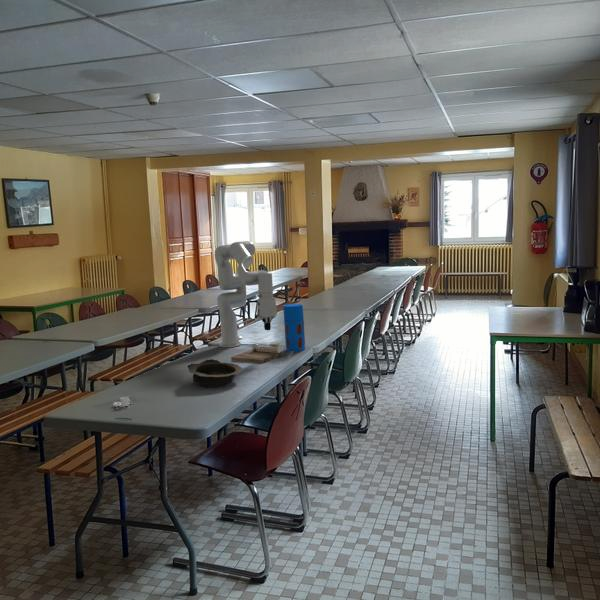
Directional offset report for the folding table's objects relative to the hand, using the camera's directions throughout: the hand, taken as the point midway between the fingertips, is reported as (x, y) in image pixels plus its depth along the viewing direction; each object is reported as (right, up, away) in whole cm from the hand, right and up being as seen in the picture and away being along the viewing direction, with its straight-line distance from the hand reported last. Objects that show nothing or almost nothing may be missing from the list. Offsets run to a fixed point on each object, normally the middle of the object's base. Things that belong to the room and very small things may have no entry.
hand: (267, 329), depth 311 cm
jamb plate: (-5, -15, +3) cm, 16 cm away
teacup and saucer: (-54, -28, -69) cm, 92 cm away
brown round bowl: (-21, -22, -43) cm, 53 cm away
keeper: (+3, -12, +8) cm, 15 cm away
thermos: (+15, -12, +19) cm, 27 cm away
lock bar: (-1, -12, +7) cm, 14 cm away
